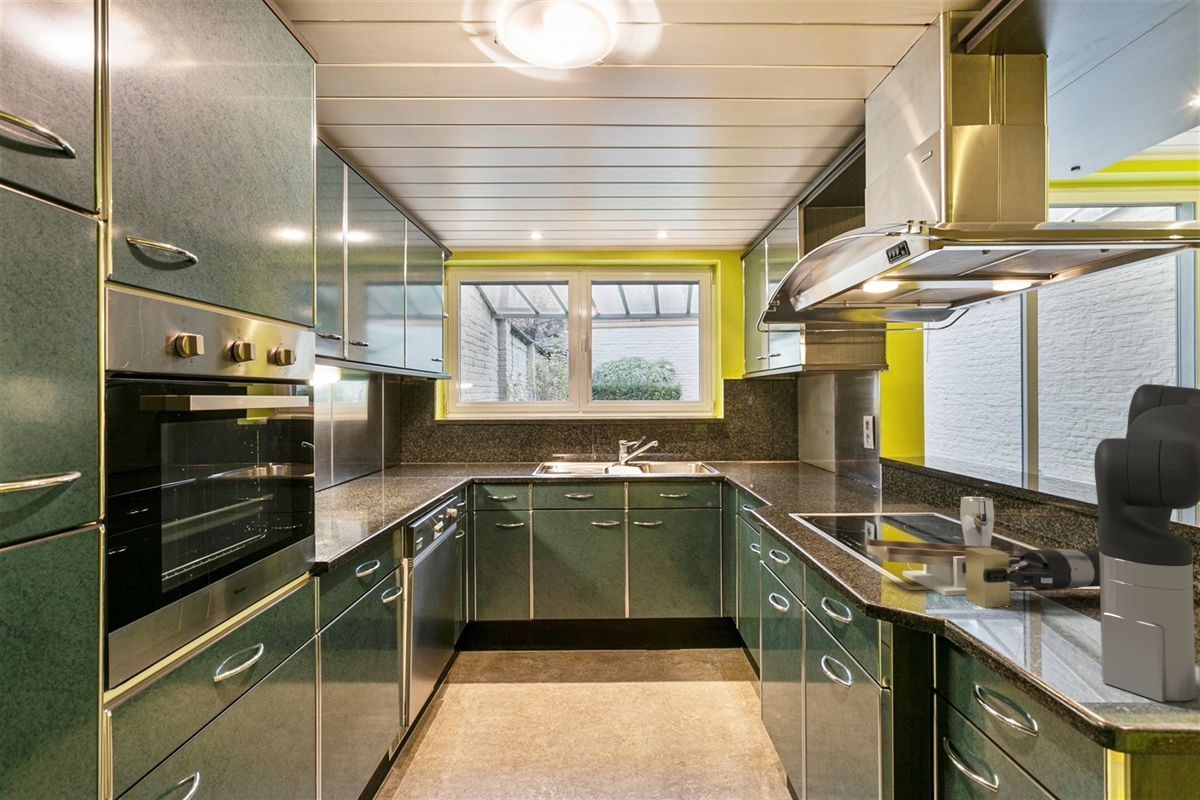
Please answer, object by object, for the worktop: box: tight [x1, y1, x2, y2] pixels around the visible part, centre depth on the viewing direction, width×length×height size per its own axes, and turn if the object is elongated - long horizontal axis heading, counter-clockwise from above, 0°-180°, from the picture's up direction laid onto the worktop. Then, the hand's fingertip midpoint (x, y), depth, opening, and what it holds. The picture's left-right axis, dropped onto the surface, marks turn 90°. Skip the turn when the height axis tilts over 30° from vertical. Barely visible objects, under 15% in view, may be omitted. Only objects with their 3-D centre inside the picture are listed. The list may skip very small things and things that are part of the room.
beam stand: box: [902, 556, 966, 597], centre depth 123 cm, size 10×14×7 cm
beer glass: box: [959, 495, 995, 547], centre depth 142 cm, size 7×7×15 cm
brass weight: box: [965, 547, 1011, 609], centre depth 111 cm, size 5×5×10 cm
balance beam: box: [866, 538, 1023, 565], centre depth 123 cm, size 30×8×3 cm, turn 95°
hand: (974, 572), depth 111 cm, fingers closed on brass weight, 5 cm apart
